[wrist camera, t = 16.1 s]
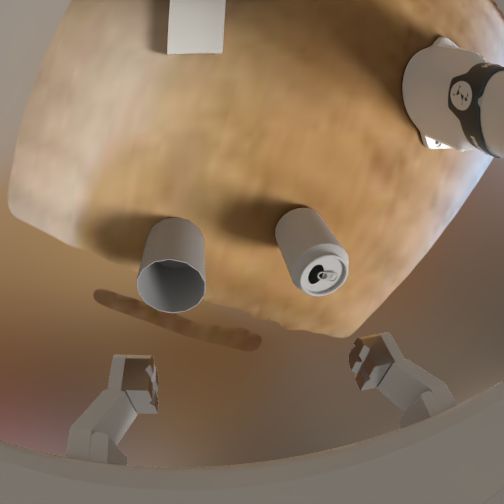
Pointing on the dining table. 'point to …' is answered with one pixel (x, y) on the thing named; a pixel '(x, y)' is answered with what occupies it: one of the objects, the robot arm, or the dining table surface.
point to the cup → (173, 266)
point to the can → (311, 252)
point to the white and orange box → (196, 26)
